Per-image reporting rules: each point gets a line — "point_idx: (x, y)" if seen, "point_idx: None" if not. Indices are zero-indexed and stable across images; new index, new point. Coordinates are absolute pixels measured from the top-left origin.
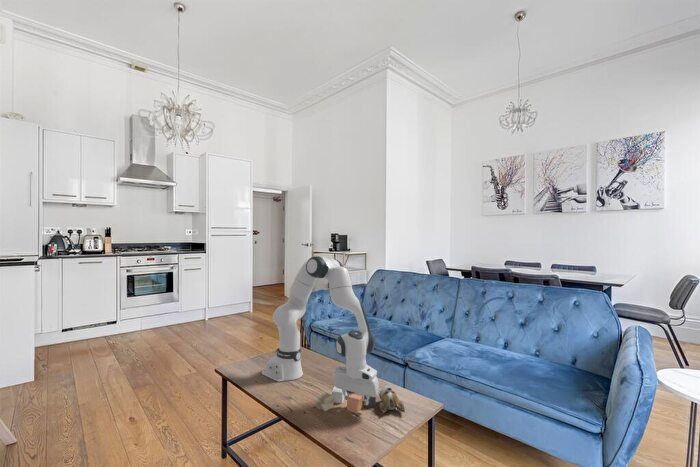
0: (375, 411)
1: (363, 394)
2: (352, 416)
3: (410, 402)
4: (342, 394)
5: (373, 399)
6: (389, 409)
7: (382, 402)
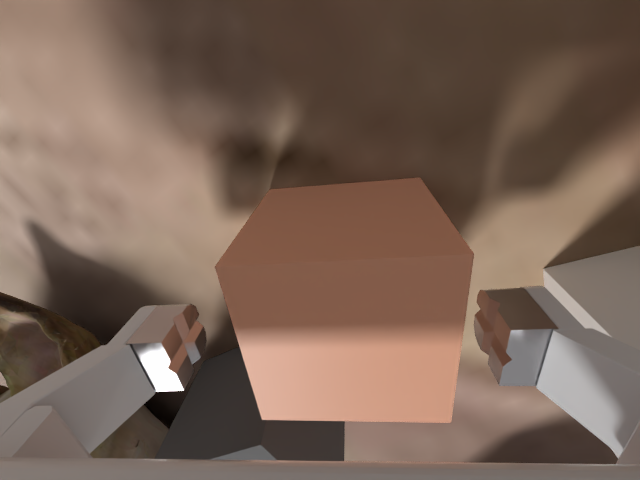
0: None
1: (10, 463)
2: (276, 88)
3: None
4: None
5: (185, 424)
6: None
7: None
